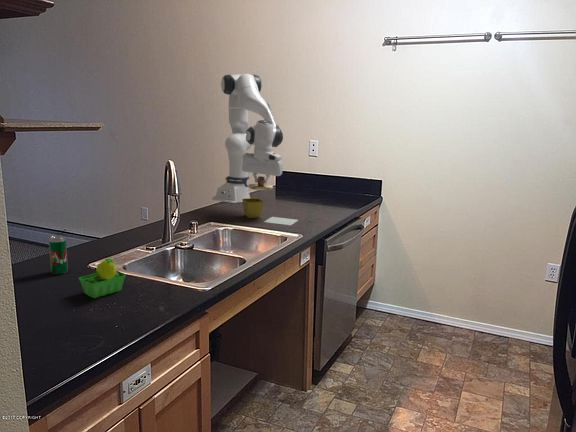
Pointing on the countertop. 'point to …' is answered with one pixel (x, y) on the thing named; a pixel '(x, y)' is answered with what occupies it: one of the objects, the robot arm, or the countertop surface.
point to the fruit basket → (103, 280)
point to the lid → (260, 185)
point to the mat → (281, 221)
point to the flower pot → (253, 207)
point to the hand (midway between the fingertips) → (260, 182)
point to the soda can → (58, 255)
